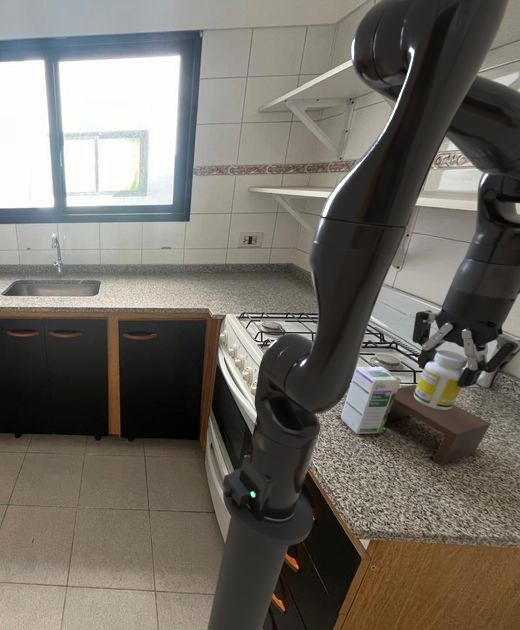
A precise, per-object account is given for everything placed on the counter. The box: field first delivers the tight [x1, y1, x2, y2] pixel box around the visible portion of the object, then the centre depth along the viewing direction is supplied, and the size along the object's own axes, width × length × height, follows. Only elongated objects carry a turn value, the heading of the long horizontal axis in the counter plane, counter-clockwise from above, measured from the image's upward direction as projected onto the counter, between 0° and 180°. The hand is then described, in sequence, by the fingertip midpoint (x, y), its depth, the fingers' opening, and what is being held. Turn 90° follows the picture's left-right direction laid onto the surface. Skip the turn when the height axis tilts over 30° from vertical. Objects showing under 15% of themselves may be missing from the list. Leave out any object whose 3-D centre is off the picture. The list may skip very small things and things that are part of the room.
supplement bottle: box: [414, 349, 468, 410], centre depth 62 cm, size 5×5×10 cm
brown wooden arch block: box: [385, 384, 492, 466], centre depth 75 cm, size 10×14×8 cm
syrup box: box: [340, 365, 402, 435], centre depth 77 cm, size 6×6×14 cm
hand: (443, 376), depth 62 cm, fingers closed on supplement bottle, 5 cm apart
